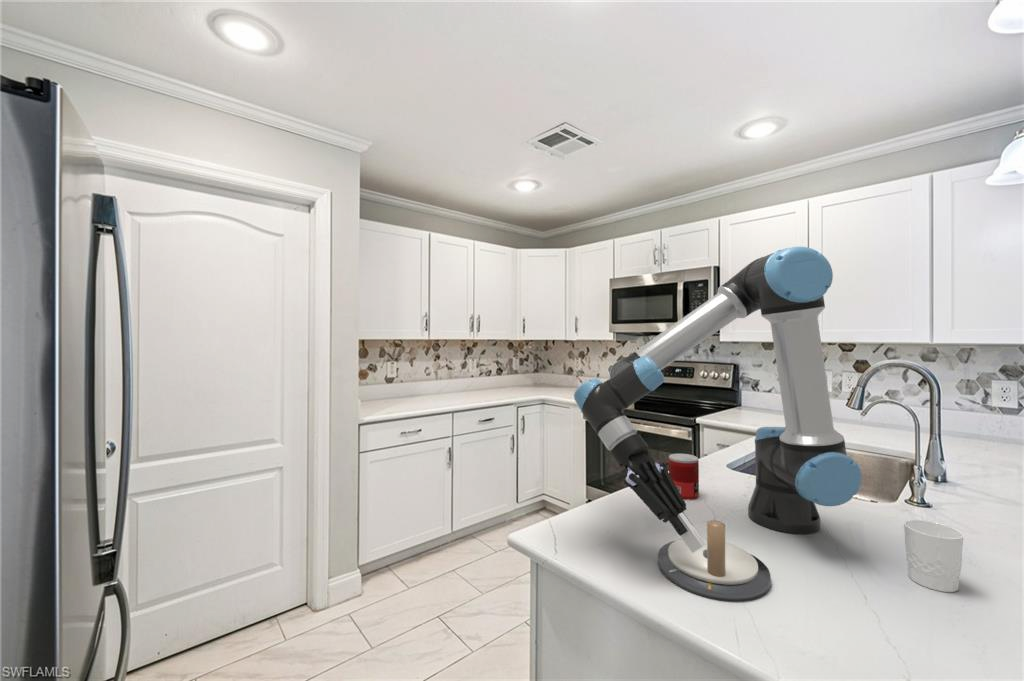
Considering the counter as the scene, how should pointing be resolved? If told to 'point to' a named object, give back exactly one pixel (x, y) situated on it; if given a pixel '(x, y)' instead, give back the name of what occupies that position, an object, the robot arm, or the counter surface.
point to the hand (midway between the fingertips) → (699, 548)
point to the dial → (714, 559)
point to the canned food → (685, 474)
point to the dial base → (713, 590)
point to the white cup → (933, 554)
